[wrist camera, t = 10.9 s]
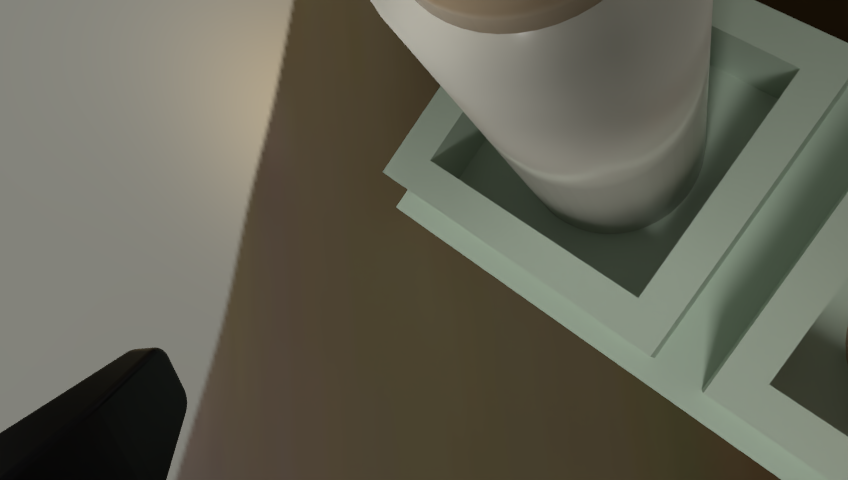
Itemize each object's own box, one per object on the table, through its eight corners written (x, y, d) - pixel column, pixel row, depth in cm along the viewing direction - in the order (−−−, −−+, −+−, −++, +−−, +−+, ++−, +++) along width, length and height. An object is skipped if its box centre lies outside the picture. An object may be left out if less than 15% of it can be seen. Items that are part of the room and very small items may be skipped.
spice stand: (1288, 294, 17) (1603, 254, 11) (1019, 644, 17) (1184, 782, 12) (585, -45, 24) (552, -178, 18) (409, 214, 24) (322, 166, 18)
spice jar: (742, 174, 20) (818, -139, 8) (577, 266, 21) (420, 116, 9) (644, 32, 21) (583, -411, 9) (496, 124, 22) (269, -167, 10)
